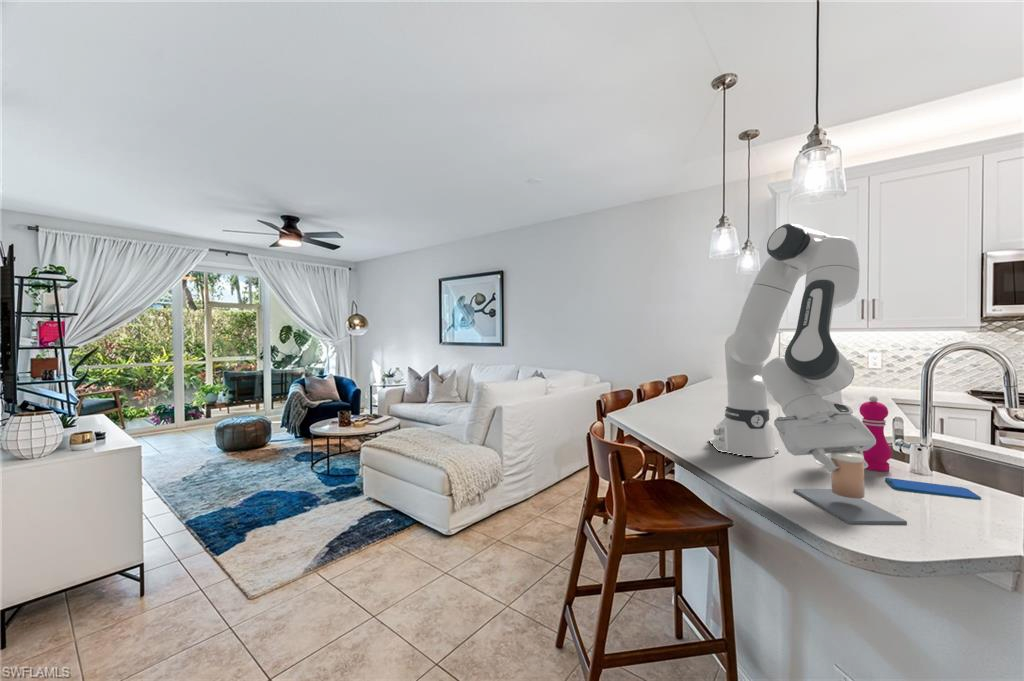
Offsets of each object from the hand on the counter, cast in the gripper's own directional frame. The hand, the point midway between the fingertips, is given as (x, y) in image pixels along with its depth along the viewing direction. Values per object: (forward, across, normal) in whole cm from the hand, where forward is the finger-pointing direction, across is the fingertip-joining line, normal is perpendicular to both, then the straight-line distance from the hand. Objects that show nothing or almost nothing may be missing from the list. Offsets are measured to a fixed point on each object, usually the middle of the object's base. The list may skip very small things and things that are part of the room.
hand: (849, 469), depth 88 cm
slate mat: (+5, 0, +6) cm, 8 cm away
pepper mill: (-9, +31, +21) cm, 38 cm away
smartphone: (+2, +28, +10) cm, 30 cm away
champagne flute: (-13, +23, +25) cm, 36 cm away
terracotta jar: (+4, 0, +4) cm, 5 cm away
